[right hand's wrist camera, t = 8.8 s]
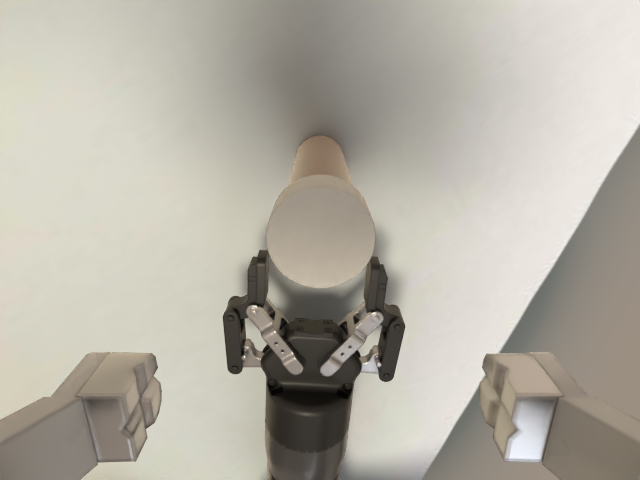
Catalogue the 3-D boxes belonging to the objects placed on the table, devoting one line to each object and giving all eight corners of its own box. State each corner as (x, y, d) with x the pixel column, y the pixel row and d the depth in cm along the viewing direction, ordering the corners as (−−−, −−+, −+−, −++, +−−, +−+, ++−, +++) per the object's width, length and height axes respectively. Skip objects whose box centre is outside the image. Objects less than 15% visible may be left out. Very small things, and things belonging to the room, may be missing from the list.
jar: (343, 133, 35) (365, 190, 19) (344, 182, 37) (366, 274, 20) (293, 136, 35) (271, 195, 19) (297, 185, 37) (280, 279, 20)
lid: (369, 171, 20) (375, 183, 18) (370, 264, 22) (376, 285, 20) (266, 177, 20) (260, 189, 18) (276, 269, 22) (271, 291, 20)
